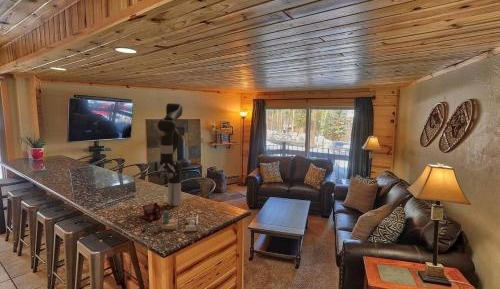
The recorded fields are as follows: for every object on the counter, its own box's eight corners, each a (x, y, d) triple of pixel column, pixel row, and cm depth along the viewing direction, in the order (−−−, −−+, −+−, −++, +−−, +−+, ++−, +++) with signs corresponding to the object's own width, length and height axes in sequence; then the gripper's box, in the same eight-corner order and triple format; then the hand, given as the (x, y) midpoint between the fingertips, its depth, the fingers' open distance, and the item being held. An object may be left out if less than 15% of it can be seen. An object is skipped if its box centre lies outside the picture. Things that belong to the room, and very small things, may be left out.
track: (147, 224, 162) (147, 221, 162) (180, 223, 166) (180, 220, 165) (144, 231, 153) (144, 227, 153) (178, 230, 157) (178, 226, 157)
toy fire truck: (164, 217, 174) (164, 202, 173) (146, 223, 165) (146, 207, 164) (158, 215, 179) (158, 200, 177) (140, 220, 169) (140, 204, 168)
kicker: (162, 223, 163) (162, 209, 162) (177, 223, 165) (177, 208, 164) (160, 229, 155) (160, 214, 154) (176, 228, 157) (176, 213, 156)
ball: (188, 225, 164) (188, 219, 164) (195, 224, 165) (195, 218, 164) (188, 227, 160) (188, 221, 160) (195, 227, 161) (195, 221, 160)
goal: (186, 222, 168) (186, 215, 168) (198, 221, 170) (198, 215, 169) (185, 231, 156) (185, 223, 155) (197, 230, 157) (197, 223, 156)
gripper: (179, 151, 170) (178, 176, 172) (155, 151, 168) (155, 176, 170) (178, 153, 163) (177, 179, 165) (153, 153, 160) (153, 179, 162)
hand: (166, 177), depth 167 cm, fingers open, 8 cm apart
